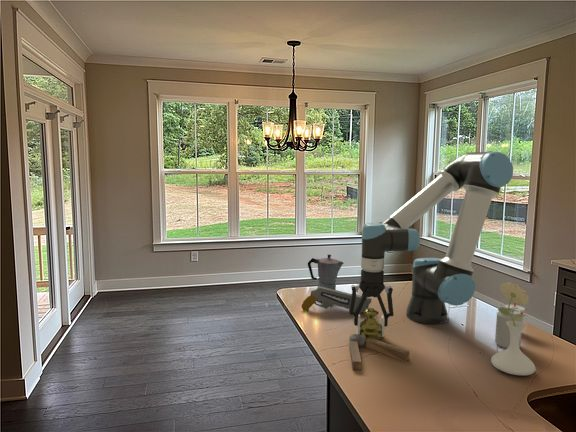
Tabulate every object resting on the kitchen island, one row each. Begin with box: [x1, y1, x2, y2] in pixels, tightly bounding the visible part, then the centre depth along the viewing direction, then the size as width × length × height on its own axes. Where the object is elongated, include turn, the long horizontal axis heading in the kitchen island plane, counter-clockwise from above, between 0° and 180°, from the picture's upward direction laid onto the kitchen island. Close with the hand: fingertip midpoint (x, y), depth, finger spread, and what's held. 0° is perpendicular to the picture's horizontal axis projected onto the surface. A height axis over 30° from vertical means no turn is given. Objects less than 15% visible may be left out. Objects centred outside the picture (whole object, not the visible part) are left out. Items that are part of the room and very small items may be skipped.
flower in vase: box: [490, 281, 537, 376], centre depth 120 cm, size 13×11×25 cm
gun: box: [301, 286, 373, 314], centre depth 168 cm, size 3×25×15 cm, turn 88°
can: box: [494, 307, 524, 350], centre depth 136 cm, size 8×8×12 cm
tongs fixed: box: [348, 333, 366, 371], centre depth 129 cm, size 5×20×2 cm, turn 176°
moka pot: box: [307, 254, 344, 302], centre depth 181 cm, size 10×15×20 cm, turn 89°
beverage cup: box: [504, 303, 526, 315], centre depth 147 cm, size 6×6×14 cm
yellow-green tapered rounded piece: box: [360, 307, 382, 341], centre depth 143 cm, size 7×7×10 cm
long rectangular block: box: [365, 338, 410, 362], centre depth 131 cm, size 2×14×2 cm, turn 46°
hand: (370, 334), depth 143 cm, fingers closed on yellow-green tapered rounded piece, 7 cm apart
